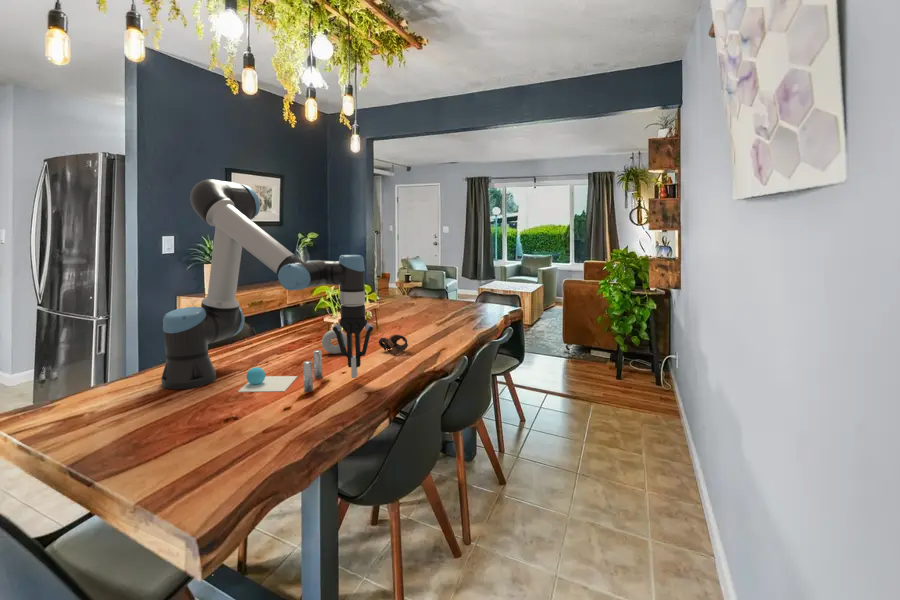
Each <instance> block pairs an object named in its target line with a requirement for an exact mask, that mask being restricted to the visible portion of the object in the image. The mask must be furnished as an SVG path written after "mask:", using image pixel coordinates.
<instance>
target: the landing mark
mask: <svg viewBox="0 0 900 600" xmlns="http://www.w3.org/2000/svg"><path fill="white" fill-rule="evenodd" d="M297 378H298V375H296V376H295V375H279V376H278V375H274V376H270V375H265V379H264V381H263V382H262V383H260V384H257V385H253V384H250V383H249V382H248V381H247V383H245V384H244V385H243V386H242V387H241V388H239V390H237V393H268V392H269V393H270V392H271V393H272V392H274V393H275V392H277V393H278V392H280V393H281V392H282V393H285V392H286V391H287V389H288V388H289V387H291V385H292V384H293V383H294V381H296V379H297Z"/></svg>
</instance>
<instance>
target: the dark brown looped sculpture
mask: <svg viewBox="0 0 900 600" xmlns="http://www.w3.org/2000/svg"><path fill="white" fill-rule="evenodd" d="M400 340H402V341H403V342H404V343H403V344H399V343H397V342H398V341H400ZM378 345H379V346H380V347H381V348H382V349H383V350H384V351H387V350H388V349H389V350H391V353H390V354H391V355H392V354H396V355H397V354H399V353H402V352H405V351H406V350H407V348H408V347H409V344H408V339H407V338H406V337H405V336H404V335H401V334H392V335H391V336H389V338H386V337H380V338H379V340H378ZM391 348H392V349H391ZM389 350H388V351H389Z"/></svg>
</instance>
